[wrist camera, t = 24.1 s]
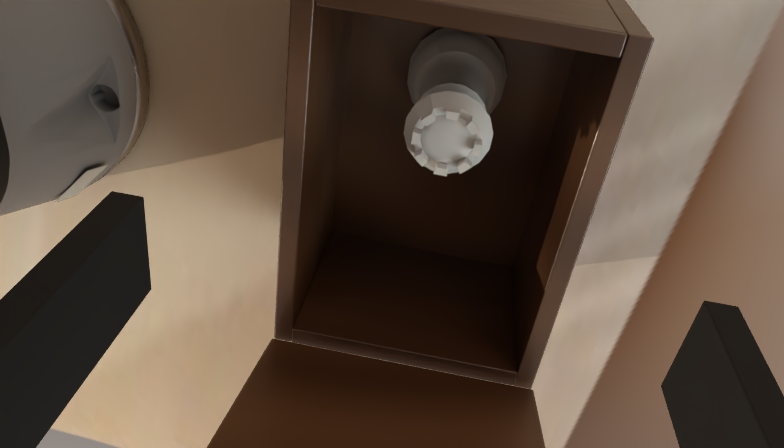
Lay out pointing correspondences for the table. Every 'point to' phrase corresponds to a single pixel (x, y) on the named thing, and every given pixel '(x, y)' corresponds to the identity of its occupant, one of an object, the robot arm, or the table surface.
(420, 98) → the rook chess piece
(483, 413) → the box lid
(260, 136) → the table surface
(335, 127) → the box
